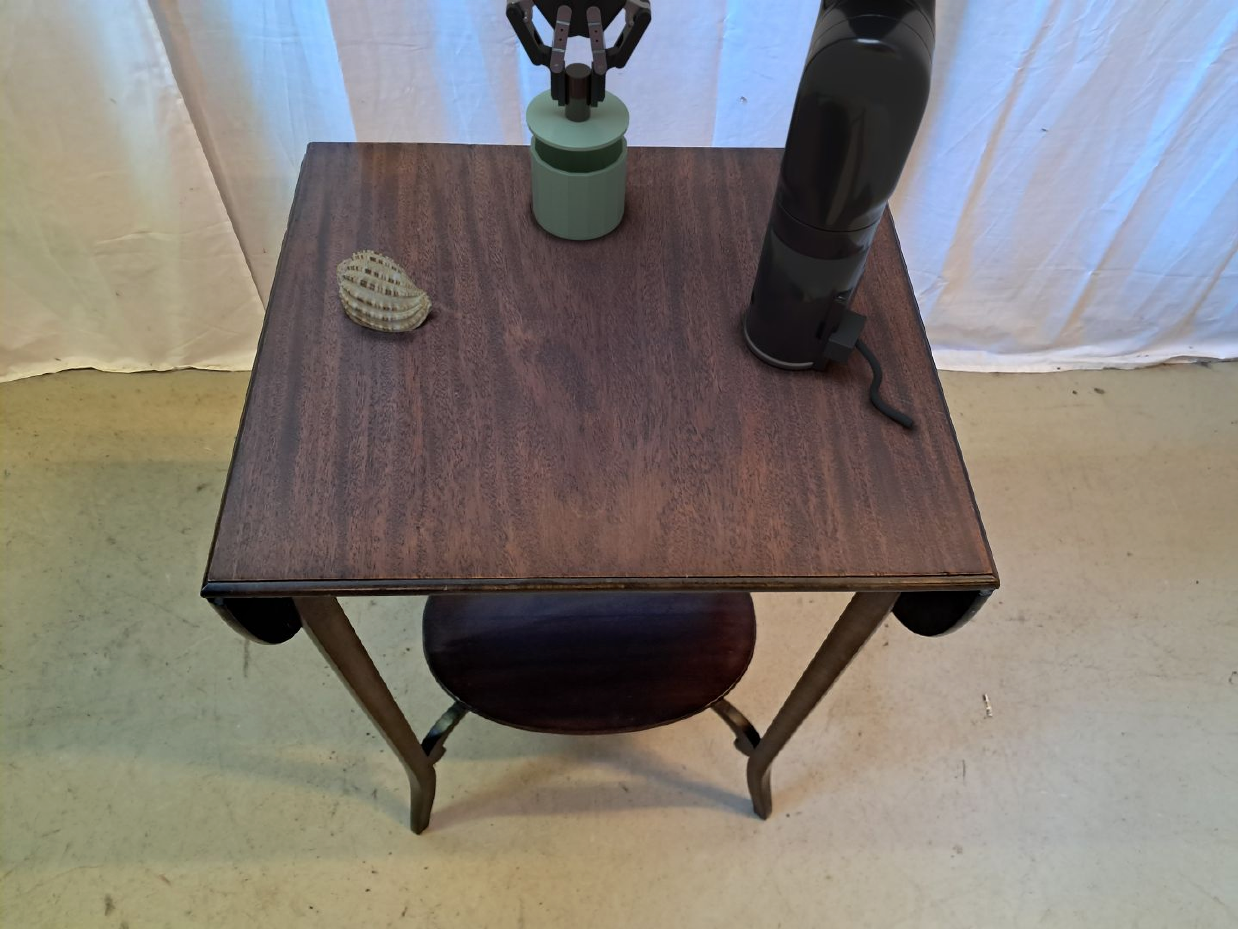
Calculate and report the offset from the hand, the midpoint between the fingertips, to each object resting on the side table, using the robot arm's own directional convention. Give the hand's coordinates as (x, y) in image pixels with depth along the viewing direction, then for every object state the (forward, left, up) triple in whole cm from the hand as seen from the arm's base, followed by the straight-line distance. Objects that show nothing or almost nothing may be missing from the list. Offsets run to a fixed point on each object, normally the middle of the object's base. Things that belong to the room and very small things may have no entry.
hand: (578, 101), depth 87 cm
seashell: (+10, +22, -14) cm, 28 cm away
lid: (0, 0, -2) cm, 2 cm away
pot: (0, 0, -13) cm, 13 cm away
